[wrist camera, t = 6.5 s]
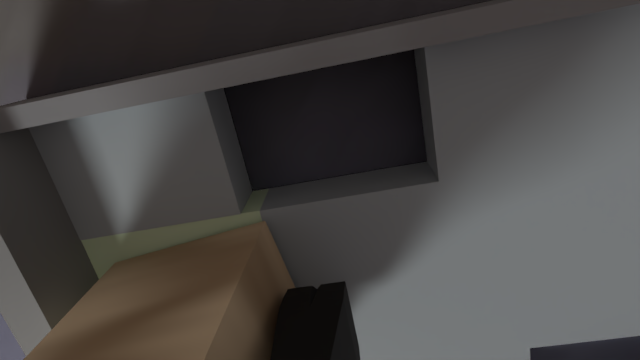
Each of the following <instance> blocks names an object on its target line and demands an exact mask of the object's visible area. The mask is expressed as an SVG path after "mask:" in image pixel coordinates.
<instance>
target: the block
mask: <svg viewBox="0 0 640 360" xmlns="http://www.w3.org/2000/svg"><path fill="white" fill-rule="evenodd" d="M291 288H295V286H294V283H293V281H292V279H291V277H290V275H289V272H288V270H287V268H286V266H285V263H284V261H283V259H282V257H281V255H280V252H279V250H278V248H277V246H276V243H275V241H274V239H273V237H272V235H271V232H270V230H269V228H268V226H267V224H266V221H262V222H259V223H255V224H251V225H248V226H244V227H241V228H237V229H234V230H230V231H226V232H223V233H219V234H216V235H212V236H208V237H205V238H201V239H198V240H194V241H191V242H187V243H183V244H180V245H176V246H173V247H169V248H166V249H162V250H158V251H155V252H151V253H148V254H144V255H141V256H137V257H133V258H130V259H126V260H123V261H119V262H116V263H114V264H113V265H112V266H111V267H110V268H109V270H108V271H107V272H106V273H105V274H104V275H103V276H102V277H101V278H100V279H99V280H98V281H97V282H96V283H95V284H94V285H93V286H92V288H91V289H90V290H89V291H88V292H87V293H86V294H85V295H84V296H83V297H82V298H81V299H80V300H79V301H78V302H77V303H76V304H75V306H74V307H73V308H72V309H71V310H70V311H69V312H68V313H67V314H66V315H65V316H64V317H63V318H62V319H61V320H60V321H59V322H58V324H57V325H56V326H55V327H54V328H53V329H52V330H51V331H50V332H49V333H48V334H47V335H46V336H45V337H44V338H43V339H42V340H41V342H40V343H39V344H38V345H37V346H36V347H35V348H34V349H33V350H32V351H31V352H30V353H29V354H28V355H27V356H26V357H25V358H24V360H270V358H271V352H272V346H273V340H274V334H275V328H276V323H277V317H278V312H279V307H280V305H281V302H282V300H283V297H284V295H285V294H286V292H287V290H288V289H291Z"/></svg>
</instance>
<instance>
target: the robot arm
mask: <svg viewBox="0 0 640 360" xmlns="http://www.w3.org/2000/svg"><path fill="white" fill-rule="evenodd" d="M270 360H360V351H359V344H358V339H357V334H356V330H355V325H354V320H353V315H352V310H351V306H350V301H349V296H348V291H347V287H346V282H345V281H342V282H335V283H328V284H321V285H320V286H319V287H318V289H316V288H315V287H313V286H306V287H299V288H291V289H288V290H287V292H286V294H285V295H284V297H283V300H282V302H281V305H280V307H279V312H278V317H277V323H276V328H275V334H274V340H273V346H272V352H271V358H270Z"/></svg>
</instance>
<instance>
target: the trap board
mask: <svg viewBox="0 0 640 360" xmlns="http://www.w3.org/2000/svg"><path fill="white" fill-rule="evenodd" d="M413 49H414V53H415V62H416V70H417V79H418V88H419V96H420V105H421V113H422V122H423V131H424V139H425V148H426V156H427V162H421V163H415V164H409V165H403V166H397V167H391V168H386V169H380V170H374V171H368V172H362V173H356V174H350V175H345V176H339V177H333V178H327V179H321V180H315V181H309V182H304V183H298V184H292V185H286V186H280V187H274V188H268V189H262V190H257V191H252V188H251V184H250V180H249V177H248V173H247V170H246V166H245V163H244V159H243V156H242V152H241V148H240V145H239V141H238V138H237V134H236V131H235V127H234V124H233V120H232V116H231V113H230V109H229V106H228V102H227V99H226V95H225V92H224V88H226V87H231V86H236V85H241V84H246V83H251V82H256V81H261V80H265V79H270V78H275V77H280V76H285V75H290V74H295V73H300V72H305V71H310V70H315V69H320V68H324V67H329V66H334V65H339V64H344V63H349V62H354V61H359V60H364V59H369V58H374V57H379V56H384V55H388V54H393V53H398V52H403V51H408V50H413ZM262 221H266V224H267V226H268V228H269V230H270V232H271V235H272V237H273V239H274V241H275V243H276V246H277V248H278V250H279V252H280V255H281V257H282V259H283V261H284V263H285V266H286V268H287V270H288V272H289V275H290V277H291V279H292V281H293V283H294V286H295V288H299V287H306V286H313V287H315V288H316V289H318V287H319V286H320V285H321V284H328V283H335V282H342V281H345V282H346V287H347V291H348V296H349V301H350V306H351V310H352V315H353V320H354V325H355V330H356V334H357V339H358V344H359V351H360V360H530V348H537V347H546V346H554V345H563V344H572V343H581V342H589V341H598V340H607V339H616V338H624V337H633V336H640V0H492V1H487V2H482V3H478V4H473V5H468V6H464V7H459V8H454V9H449V10H445V11H440V12H435V13H431V14H426V15H421V16H417V17H412V18H407V19H402V20H398V21H393V22H388V23H384V24H379V25H374V26H369V27H365V28H360V29H355V30H351V31H346V32H341V33H336V34H332V35H327V36H322V37H318V38H313V39H308V40H304V41H299V42H294V43H289V44H285V45H280V46H275V47H271V48H266V49H261V50H256V51H252V52H247V53H242V54H238V55H233V56H228V57H223V58H219V59H214V60H209V61H205V62H200V63H195V64H191V65H186V66H181V67H176V68H172V69H167V70H162V71H158V72H153V73H148V74H143V75H139V76H134V77H129V78H125V79H120V80H115V81H110V82H106V83H101V84H96V85H92V86H87V87H82V88H78V89H73V90H68V91H63V92H59V93H54V94H49V95H45V96H40V97H35V98H30V99H26V100H22V101H18V102H14V103H10V104H6V105H2V106H0V312H1V314H2V316H3V318H4V319H5V321H6V323H7V325H8V326H9V328H10V330H11V331H12V333H13V335H14V337H15V338H16V340H17V342H18V343H19V345H20V347H21V349H22V350H23V352H24V354H25V356H27V355H28V354H29V353H30V352H31V351H32V350H33V349H34V348H35V347H36V346H37V345H38V344H39V343H40V342H41V340H42V339H43V338H44V337H45V336H46V335H47V334H48V333H49V332H50V331H51V330H52V329H53V328H54V327H55V326H56V325H57V324H58V322H59V321H60V320H61V319H62V318H63V317H64V316H65V315H66V314H67V313H68V312H69V311H70V310H71V309H72V308H73V307H74V306H75V304H76V303H77V302H78V301H79V300H80V299H81V298H82V297H83V296H84V295H85V294H86V293H87V292H88V291H89V290H90V289H91V288H92V286H93V285H94V284H95V283H96V282H97V281H98V280H99V279H100V278H101V277H102V276H103V275H104V274H105V273H106V272H107V271H108V270H109V268H110V267H111V266H112V265H113V264H114V263H116V262H119V261H123V260H126V259H130V258H133V257H137V256H141V255H144V254H148V253H151V252H155V251H158V250H162V249H166V248H169V247H173V246H176V245H180V244H183V243H187V242H191V241H194V240H198V239H201V238H205V237H208V236H212V235H216V234H219V233H223V232H226V231H230V230H234V229H237V228H241V227H244V226H248V225H251V224H255V223H259V222H262Z"/></svg>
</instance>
